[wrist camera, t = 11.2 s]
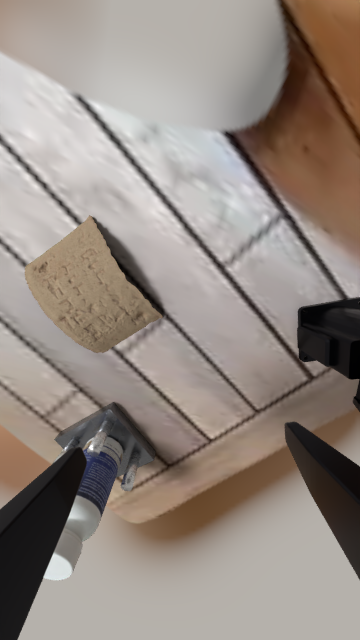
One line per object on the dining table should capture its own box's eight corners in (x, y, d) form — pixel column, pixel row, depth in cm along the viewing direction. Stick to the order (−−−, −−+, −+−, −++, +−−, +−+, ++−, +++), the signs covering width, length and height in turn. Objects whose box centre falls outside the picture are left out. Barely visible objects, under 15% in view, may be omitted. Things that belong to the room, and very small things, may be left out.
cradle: (113, 402, 23) (94, 433, 18) (155, 451, 24) (148, 491, 20) (60, 431, 24) (31, 467, 20) (103, 475, 26) (86, 517, 22)
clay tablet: (167, 318, 20) (165, 324, 17) (104, 360, 22) (93, 371, 19) (87, 206, 17) (69, 193, 15) (23, 264, 19) (-3, 262, 17)
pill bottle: (99, 427, 22) (35, 537, 13) (131, 448, 23) (93, 568, 14) (79, 449, 23) (6, 565, 14) (110, 469, 24) (60, 592, 15)
